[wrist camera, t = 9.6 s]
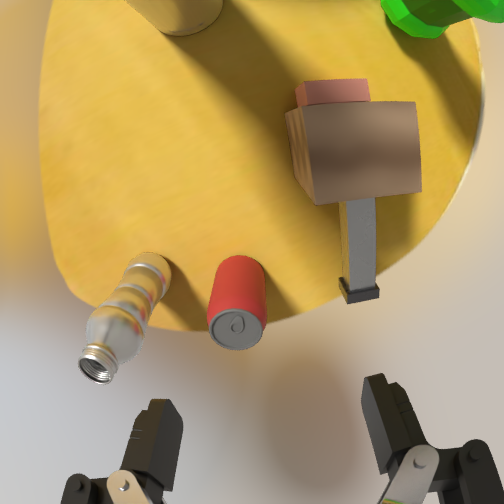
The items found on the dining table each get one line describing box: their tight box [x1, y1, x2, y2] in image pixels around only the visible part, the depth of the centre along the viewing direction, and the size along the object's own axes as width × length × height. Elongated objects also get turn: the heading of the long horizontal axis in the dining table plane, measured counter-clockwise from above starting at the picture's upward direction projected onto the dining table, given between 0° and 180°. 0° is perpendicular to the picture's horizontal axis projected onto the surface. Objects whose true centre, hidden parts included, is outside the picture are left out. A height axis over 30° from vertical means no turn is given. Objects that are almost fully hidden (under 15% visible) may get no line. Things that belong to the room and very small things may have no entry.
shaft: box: [338, 198, 380, 304], centre depth 28 cm, size 18×4×4 cm, turn 10°
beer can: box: [207, 255, 267, 350], centre depth 35 cm, size 7×7×12 cm
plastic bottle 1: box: [78, 252, 172, 384], centre depth 31 cm, size 6×7×20 cm
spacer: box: [295, 79, 371, 107], centre depth 27 cm, size 2×7×7 cm, turn 100°
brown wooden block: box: [284, 101, 422, 205], centre depth 27 cm, size 8×10×13 cm
